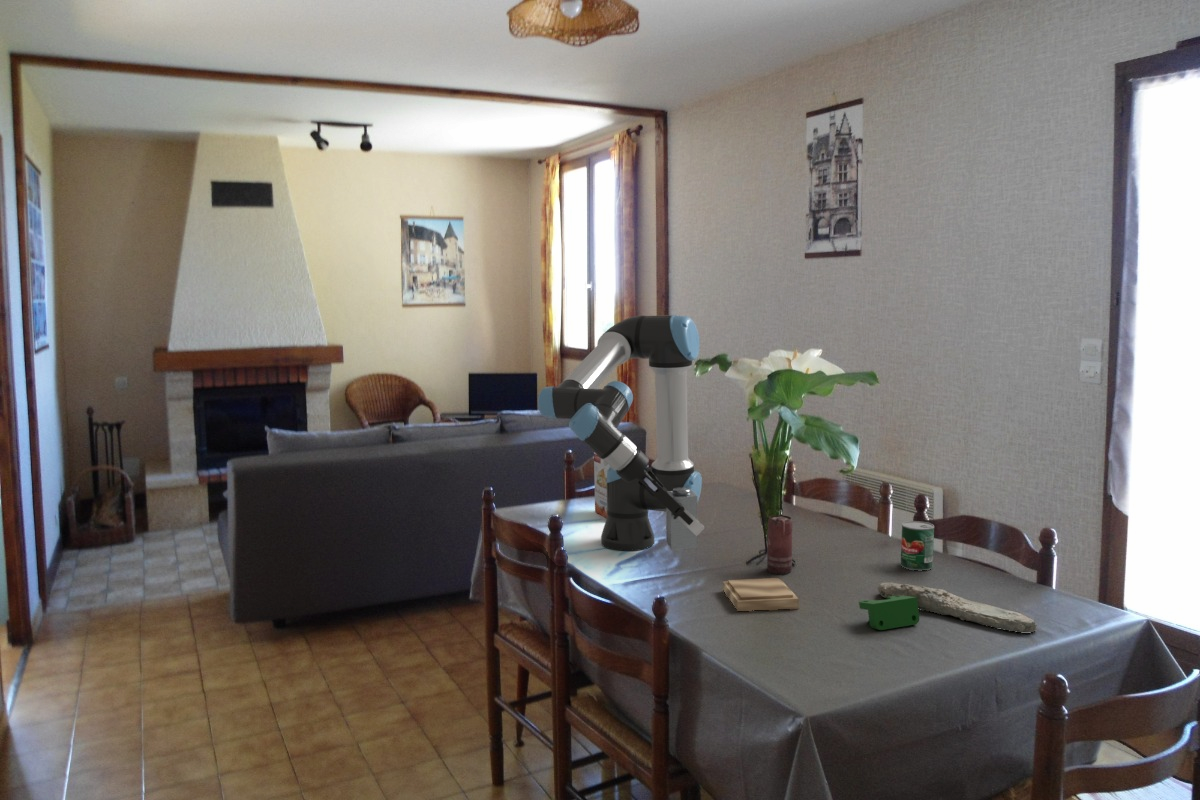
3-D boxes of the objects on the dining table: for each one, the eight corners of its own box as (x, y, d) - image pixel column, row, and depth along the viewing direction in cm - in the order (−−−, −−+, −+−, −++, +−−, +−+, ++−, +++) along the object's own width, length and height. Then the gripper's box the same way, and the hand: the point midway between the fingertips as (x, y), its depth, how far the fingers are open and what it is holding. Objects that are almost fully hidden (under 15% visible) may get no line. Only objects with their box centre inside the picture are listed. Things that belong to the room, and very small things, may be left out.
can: (774, 575, 225) (775, 521, 223) (763, 568, 231) (763, 515, 229) (796, 573, 227) (797, 519, 225) (784, 566, 233) (785, 513, 231)
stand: (722, 591, 214) (722, 579, 214) (779, 588, 216) (780, 576, 215) (737, 612, 200) (737, 599, 200) (798, 609, 202) (798, 596, 201)
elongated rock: (1024, 647, 183) (1041, 636, 190) (1027, 622, 183) (1045, 612, 190) (868, 598, 208) (888, 589, 215) (870, 575, 207) (891, 568, 214)
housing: (666, 541, 209) (666, 487, 207) (691, 540, 210) (691, 486, 208) (671, 549, 203) (671, 492, 202) (697, 547, 204) (697, 492, 202)
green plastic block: (896, 638, 196) (905, 597, 198) (914, 641, 190) (923, 599, 192) (851, 623, 193) (860, 581, 195) (868, 625, 187) (877, 583, 189)
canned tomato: (897, 568, 230) (899, 526, 229) (903, 560, 237) (904, 519, 235) (930, 572, 226) (932, 530, 225) (934, 564, 233) (936, 523, 232)
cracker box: (593, 512, 290) (592, 449, 288) (610, 510, 293) (609, 447, 290) (612, 522, 278) (611, 456, 275) (629, 520, 280) (629, 454, 278)
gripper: (610, 463, 212) (678, 528, 216) (620, 480, 193) (694, 551, 197) (632, 440, 212) (699, 505, 216) (644, 455, 193) (718, 526, 197)
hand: (697, 527), depth 206 cm, fingers closed on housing, 6 cm apart
